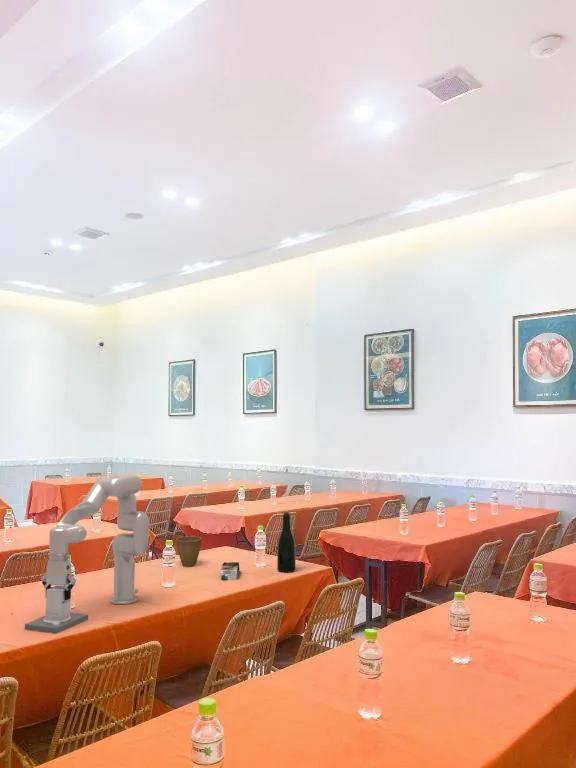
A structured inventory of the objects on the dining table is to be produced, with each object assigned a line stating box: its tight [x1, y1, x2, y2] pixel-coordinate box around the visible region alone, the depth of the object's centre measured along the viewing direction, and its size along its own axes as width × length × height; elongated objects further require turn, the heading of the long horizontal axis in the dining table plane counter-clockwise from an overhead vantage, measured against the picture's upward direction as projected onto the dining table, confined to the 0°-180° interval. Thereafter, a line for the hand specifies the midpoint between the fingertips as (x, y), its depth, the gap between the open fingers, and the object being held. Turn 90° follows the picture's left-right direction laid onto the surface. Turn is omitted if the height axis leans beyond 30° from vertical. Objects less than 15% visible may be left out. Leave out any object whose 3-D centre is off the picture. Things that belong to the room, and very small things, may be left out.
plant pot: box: [176, 535, 202, 568], centre depth 386 cm, size 15×15×16 cm
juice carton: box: [219, 561, 240, 581], centre depth 360 cm, size 20×10×6 cm, turn 1°
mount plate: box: [24, 612, 89, 634], centre depth 273 cm, size 20×16×3 cm
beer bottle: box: [276, 512, 297, 573], centre depth 374 cm, size 10×10×33 cm
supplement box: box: [45, 585, 71, 621], centre depth 274 cm, size 7×7×13 cm
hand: (58, 598), depth 274 cm, fingers open, 9 cm apart
